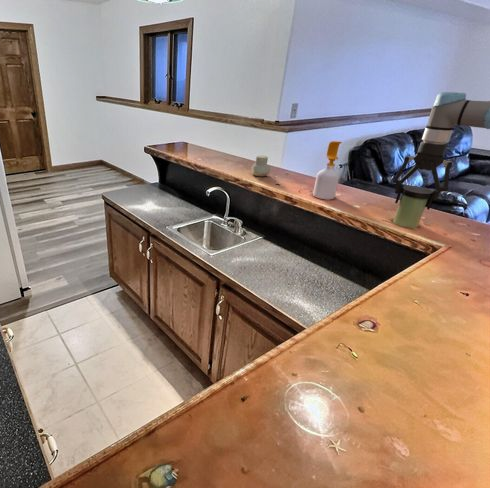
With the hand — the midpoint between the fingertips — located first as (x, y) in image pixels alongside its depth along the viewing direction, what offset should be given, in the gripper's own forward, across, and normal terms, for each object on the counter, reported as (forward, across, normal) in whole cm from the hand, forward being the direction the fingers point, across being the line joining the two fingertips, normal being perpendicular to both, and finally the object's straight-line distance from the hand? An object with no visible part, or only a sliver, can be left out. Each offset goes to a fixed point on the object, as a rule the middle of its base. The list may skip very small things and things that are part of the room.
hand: (412, 205), depth 127 cm
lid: (-6, 0, 0) cm, 6 cm away
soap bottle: (+8, +33, -13) cm, 36 cm away
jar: (+7, 0, 0) cm, 7 cm away
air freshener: (+8, +70, -28) cm, 76 cm away
